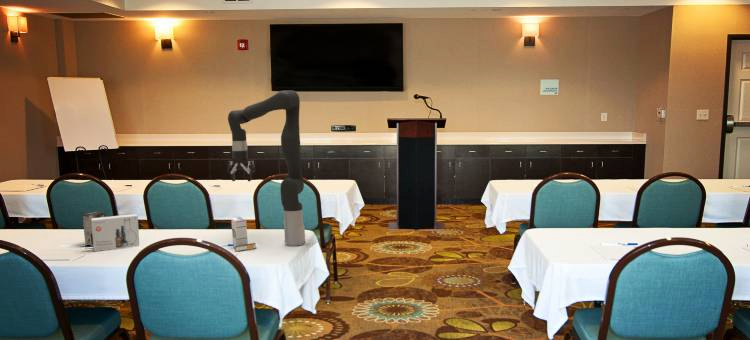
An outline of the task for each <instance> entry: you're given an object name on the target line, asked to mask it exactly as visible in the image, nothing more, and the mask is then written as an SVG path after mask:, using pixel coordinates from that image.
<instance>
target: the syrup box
mask: <svg viewBox="0 0 750 340" xmlns="http://www.w3.org/2000/svg"><path fill="white" fill-rule="evenodd" d="M230 219H231V237H232V247H233V248H234V249H235V246H238V245H244V244H249V243H248V242H249V241H248V230H247V229H248V228H247V219H246V218H245V217H242V216H238V217H233V218H230Z"/></svg>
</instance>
